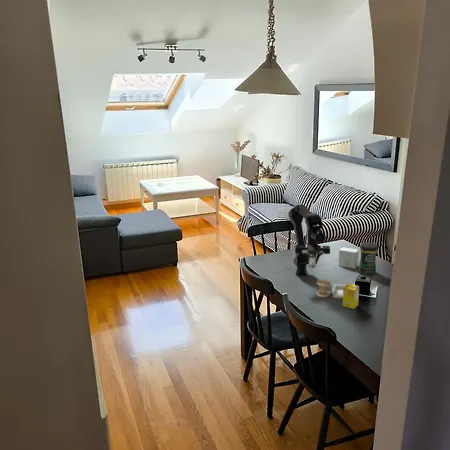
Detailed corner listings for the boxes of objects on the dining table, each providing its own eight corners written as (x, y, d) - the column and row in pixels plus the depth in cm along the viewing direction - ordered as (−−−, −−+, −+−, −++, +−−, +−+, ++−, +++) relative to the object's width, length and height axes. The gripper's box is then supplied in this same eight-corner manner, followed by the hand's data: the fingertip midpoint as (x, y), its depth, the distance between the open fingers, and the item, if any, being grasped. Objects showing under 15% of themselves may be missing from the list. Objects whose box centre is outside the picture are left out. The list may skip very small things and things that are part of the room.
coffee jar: (359, 275, 249) (361, 245, 243) (357, 269, 256) (359, 240, 251) (376, 275, 247) (379, 245, 242) (374, 270, 255) (376, 240, 249)
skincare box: (358, 265, 263) (359, 249, 259) (354, 269, 258) (355, 252, 254) (341, 262, 268) (342, 246, 265) (338, 265, 263) (338, 249, 260)
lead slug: (308, 264, 239) (308, 253, 237) (316, 265, 238) (316, 253, 236) (308, 267, 235) (308, 256, 233) (316, 268, 234) (316, 256, 232)
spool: (316, 291, 232) (316, 279, 230) (329, 291, 230) (330, 279, 228) (316, 296, 225) (316, 284, 223) (330, 297, 224) (330, 285, 222)
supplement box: (347, 302, 218) (348, 283, 215) (358, 305, 214) (359, 285, 211) (342, 307, 214) (342, 287, 210) (353, 310, 210) (354, 290, 207)
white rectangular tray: (332, 288, 233) (332, 283, 232) (355, 290, 231) (355, 284, 230) (333, 297, 224) (333, 292, 223) (356, 298, 222) (357, 293, 221)
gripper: (294, 241, 226) (294, 269, 231) (331, 242, 222) (330, 270, 227) (295, 235, 236) (295, 261, 241) (330, 235, 233) (329, 262, 237)
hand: (312, 263), depth 236 cm, fingers closed on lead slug, 4 cm apart
